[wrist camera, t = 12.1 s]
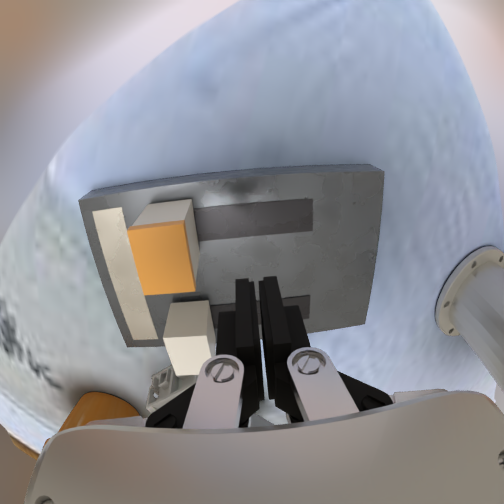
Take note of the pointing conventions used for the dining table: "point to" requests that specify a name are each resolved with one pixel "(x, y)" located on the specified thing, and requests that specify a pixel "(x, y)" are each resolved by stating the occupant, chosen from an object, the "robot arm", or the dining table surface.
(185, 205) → the lever
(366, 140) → the dining table surface
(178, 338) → the on lever
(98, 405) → the flower pot
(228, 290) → the slotted slider board
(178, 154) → the dining table surface
